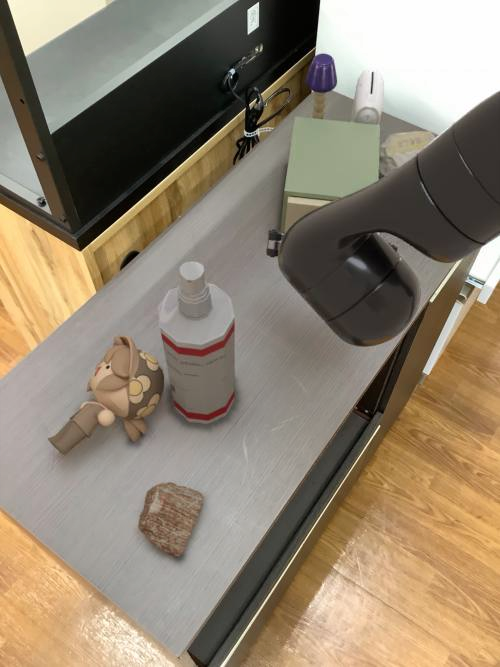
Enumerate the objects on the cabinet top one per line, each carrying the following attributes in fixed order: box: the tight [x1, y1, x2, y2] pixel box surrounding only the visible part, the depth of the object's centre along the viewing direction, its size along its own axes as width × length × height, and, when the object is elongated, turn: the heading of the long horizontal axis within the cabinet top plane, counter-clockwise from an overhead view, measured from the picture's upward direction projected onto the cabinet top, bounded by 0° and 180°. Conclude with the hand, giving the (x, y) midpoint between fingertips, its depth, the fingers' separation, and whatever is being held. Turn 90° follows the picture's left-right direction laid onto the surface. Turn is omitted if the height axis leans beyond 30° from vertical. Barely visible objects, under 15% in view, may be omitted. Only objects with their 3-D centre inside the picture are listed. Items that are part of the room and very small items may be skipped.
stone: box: [138, 481, 205, 557], centre depth 68 cm, size 7×6×5 cm
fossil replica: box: [379, 130, 436, 178], centre depth 96 cm, size 12×8×10 cm
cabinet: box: [279, 115, 381, 234], centre depth 92 cm, size 16×13×10 cm
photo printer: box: [349, 67, 385, 125], centre depth 98 cm, size 10×4×12 cm, turn 171°
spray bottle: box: [157, 260, 236, 425], centre depth 67 cm, size 8×8×25 cm
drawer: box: [284, 196, 334, 232], centre depth 90 cm, size 19×11×8 cm, turn 172°
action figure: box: [47, 334, 165, 456], centre depth 72 cm, size 10×11×15 cm
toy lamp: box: [305, 52, 338, 119], centre depth 96 cm, size 5×5×17 cm
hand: (327, 245), depth 76 cm, fingers open, 8 cm apart
